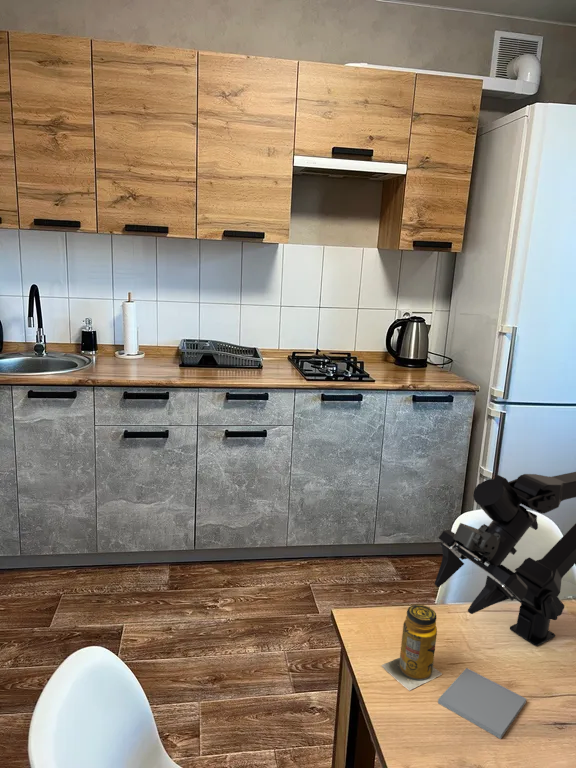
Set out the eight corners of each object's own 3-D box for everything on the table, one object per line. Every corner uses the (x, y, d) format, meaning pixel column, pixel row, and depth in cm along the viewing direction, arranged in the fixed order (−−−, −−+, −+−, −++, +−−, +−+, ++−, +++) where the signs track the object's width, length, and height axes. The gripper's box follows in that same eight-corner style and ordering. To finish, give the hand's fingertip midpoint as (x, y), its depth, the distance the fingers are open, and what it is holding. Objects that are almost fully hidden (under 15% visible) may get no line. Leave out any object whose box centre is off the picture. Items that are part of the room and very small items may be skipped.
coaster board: (466, 671, 109) (466, 667, 109) (525, 702, 102) (526, 698, 102) (437, 703, 101) (438, 698, 101) (500, 739, 94) (501, 734, 94)
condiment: (442, 674, 108) (449, 616, 106) (409, 691, 104) (415, 631, 101) (413, 652, 114) (419, 596, 111) (380, 667, 109) (386, 609, 107)
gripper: (449, 490, 116) (398, 553, 114) (522, 532, 99) (465, 606, 97) (476, 520, 121) (429, 581, 119) (550, 565, 104) (496, 636, 102)
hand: (452, 598), depth 109 cm, fingers open, 9 cm apart
